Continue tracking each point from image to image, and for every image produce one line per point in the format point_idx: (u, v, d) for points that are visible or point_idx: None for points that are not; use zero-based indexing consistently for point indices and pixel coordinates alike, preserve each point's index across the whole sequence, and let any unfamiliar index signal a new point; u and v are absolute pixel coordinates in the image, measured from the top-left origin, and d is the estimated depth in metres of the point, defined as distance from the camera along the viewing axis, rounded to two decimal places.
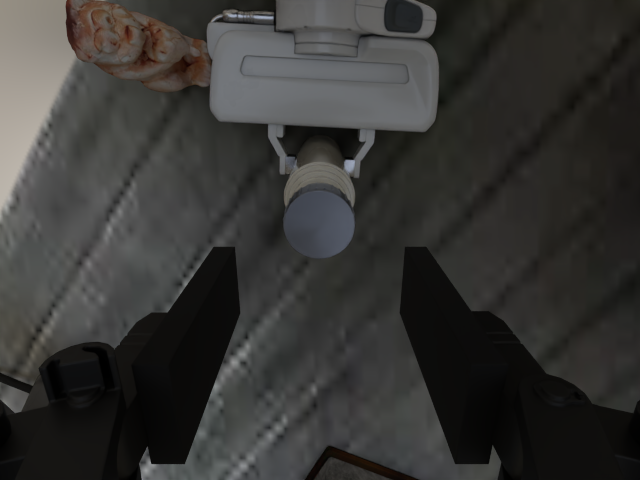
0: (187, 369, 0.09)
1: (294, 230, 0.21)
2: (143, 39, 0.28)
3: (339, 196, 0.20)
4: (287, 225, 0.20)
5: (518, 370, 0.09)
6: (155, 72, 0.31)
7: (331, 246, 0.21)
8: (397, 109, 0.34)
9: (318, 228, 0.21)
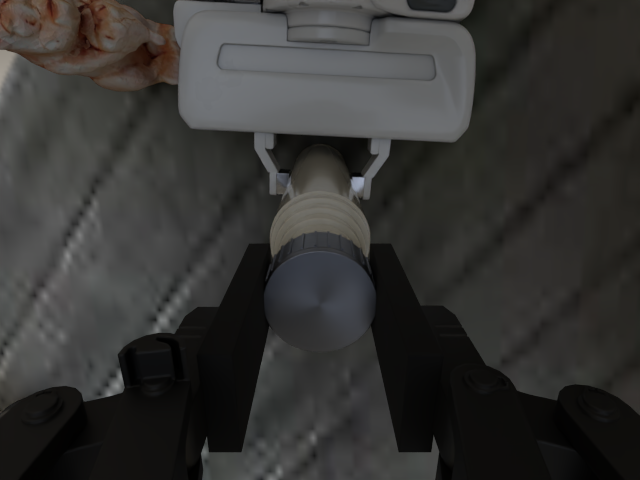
0: (242, 360, 0.09)
1: (280, 311, 0.13)
2: (76, 18, 0.20)
3: (352, 259, 0.12)
4: (269, 303, 0.13)
5: (458, 361, 0.09)
6: (101, 65, 0.23)
7: (339, 334, 0.13)
8: (420, 113, 0.26)
9: (318, 308, 0.13)
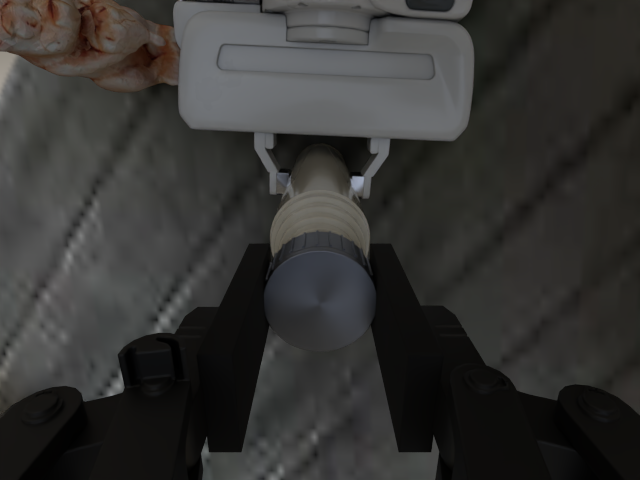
0: (242, 361, 0.09)
1: (345, 330, 0.13)
2: (76, 19, 0.20)
3: None
4: (342, 342, 0.13)
5: (458, 361, 0.09)
6: (102, 66, 0.24)
7: (342, 272, 0.12)
8: (419, 113, 0.27)
9: (324, 303, 0.13)
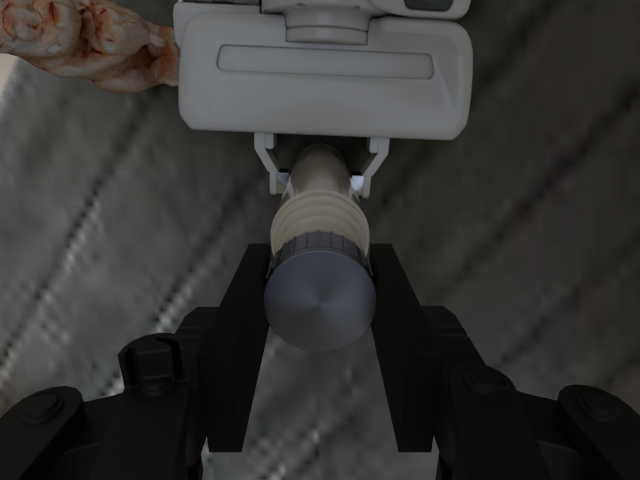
0: (243, 360, 0.09)
1: (335, 269, 0.12)
2: (77, 21, 0.20)
3: (341, 346, 0.13)
4: (349, 265, 0.12)
5: (458, 361, 0.09)
6: (103, 67, 0.24)
7: (279, 301, 0.13)
8: (418, 112, 0.27)
9: (317, 300, 0.13)
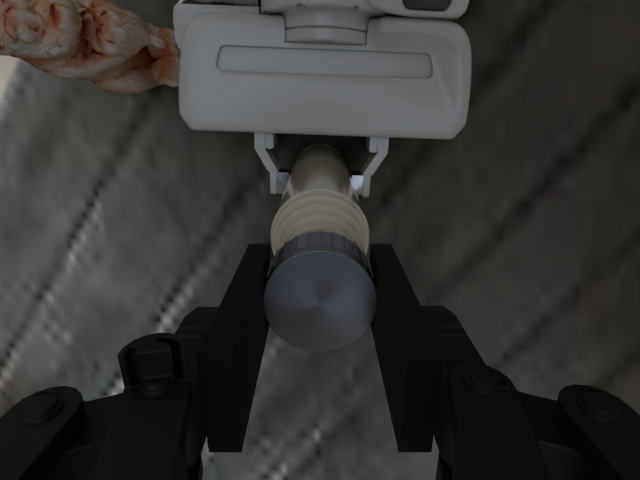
0: (242, 361, 0.09)
1: (279, 307, 0.13)
2: (78, 23, 0.20)
3: (357, 261, 0.12)
4: (269, 299, 0.13)
5: (458, 361, 0.09)
6: (103, 68, 0.24)
7: (336, 335, 0.13)
8: (418, 111, 0.27)
9: (318, 307, 0.13)
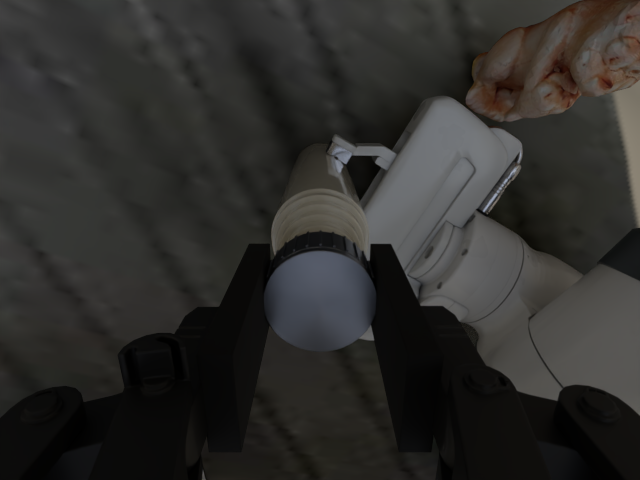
0: (242, 361, 0.09)
1: (279, 307, 0.13)
2: (584, 93, 0.22)
3: (357, 261, 0.12)
4: (269, 299, 0.13)
5: (458, 361, 0.09)
6: (534, 68, 0.24)
7: (336, 335, 0.13)
8: None
9: (318, 307, 0.13)
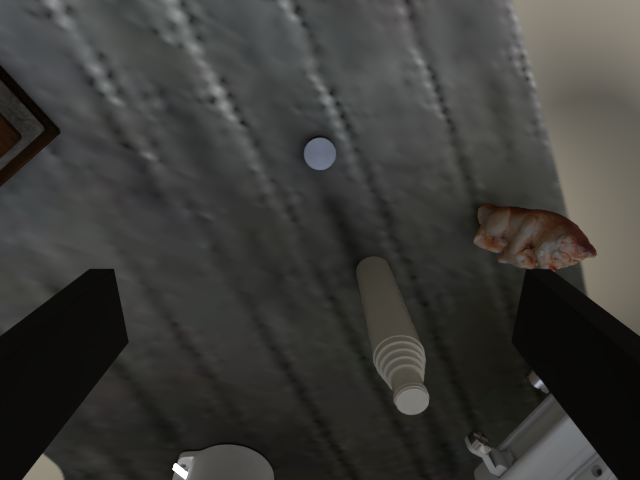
0: None
1: (308, 155, 0.46)
2: None
3: (330, 141, 0.45)
4: (305, 152, 0.46)
5: None
6: (515, 244, 0.41)
7: (324, 164, 0.46)
8: None
9: (319, 155, 0.46)
